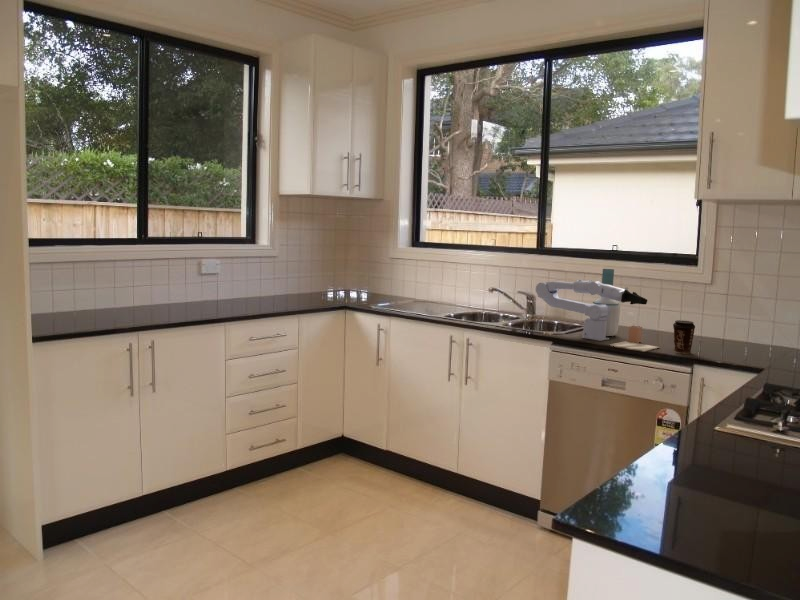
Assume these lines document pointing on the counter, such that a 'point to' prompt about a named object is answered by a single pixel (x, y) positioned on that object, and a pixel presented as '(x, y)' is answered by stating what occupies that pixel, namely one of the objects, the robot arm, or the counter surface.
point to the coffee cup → (683, 336)
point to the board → (634, 346)
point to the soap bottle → (610, 304)
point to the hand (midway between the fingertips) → (643, 301)
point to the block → (635, 333)
